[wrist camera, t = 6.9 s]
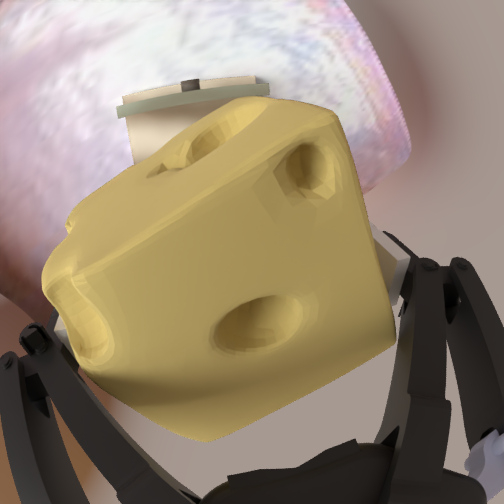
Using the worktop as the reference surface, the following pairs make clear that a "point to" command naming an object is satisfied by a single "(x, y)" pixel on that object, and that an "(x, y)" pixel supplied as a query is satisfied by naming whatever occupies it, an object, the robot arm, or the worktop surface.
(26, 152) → the worktop surface
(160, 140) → the holder
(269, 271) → the cheese
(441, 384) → the robot arm
